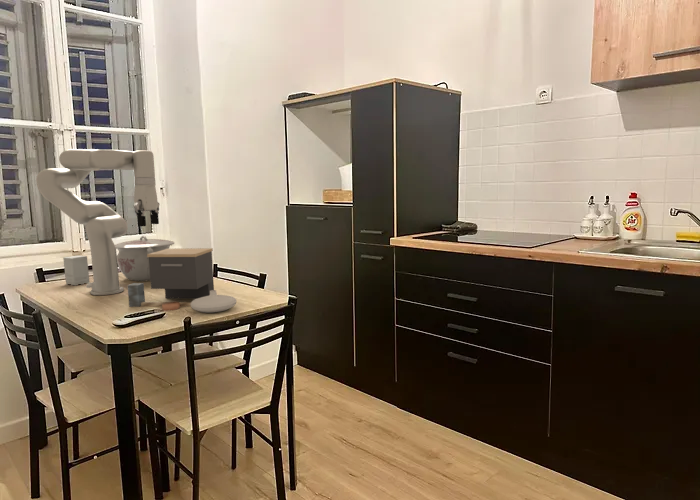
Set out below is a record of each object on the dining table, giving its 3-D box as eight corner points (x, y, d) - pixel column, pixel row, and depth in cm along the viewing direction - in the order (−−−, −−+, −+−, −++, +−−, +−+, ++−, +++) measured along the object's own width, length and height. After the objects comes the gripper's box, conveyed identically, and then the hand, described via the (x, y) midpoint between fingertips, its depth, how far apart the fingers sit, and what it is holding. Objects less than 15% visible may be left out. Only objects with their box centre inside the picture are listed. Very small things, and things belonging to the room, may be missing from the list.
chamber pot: (136, 273, 254) (132, 232, 251) (187, 273, 250) (184, 232, 248) (101, 284, 227) (97, 239, 224) (158, 284, 223) (154, 238, 220)
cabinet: (150, 304, 186) (146, 254, 183) (171, 295, 201) (168, 248, 199) (198, 305, 183) (194, 254, 181) (215, 295, 199) (212, 248, 196)
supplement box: (90, 282, 231) (87, 255, 229) (74, 285, 225) (71, 258, 223) (81, 281, 235) (78, 255, 233) (65, 284, 229) (62, 257, 227)
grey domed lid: (193, 318, 166) (192, 297, 165) (188, 308, 180) (187, 288, 179) (241, 312, 172) (240, 292, 171) (232, 302, 187) (231, 284, 186)
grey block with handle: (129, 306, 184) (127, 285, 183) (135, 304, 188) (133, 283, 187) (188, 307, 181) (186, 285, 180) (193, 304, 185) (191, 283, 184)
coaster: (159, 311, 177) (158, 305, 177) (167, 306, 183) (166, 301, 183) (175, 311, 177) (174, 305, 176) (182, 306, 182) (182, 301, 182)
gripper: (148, 182, 207) (151, 223, 210) (123, 182, 191) (127, 227, 193) (165, 181, 206) (168, 223, 209) (142, 182, 189) (145, 227, 192)
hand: (148, 225), depth 201 cm, fingers open, 9 cm apart
